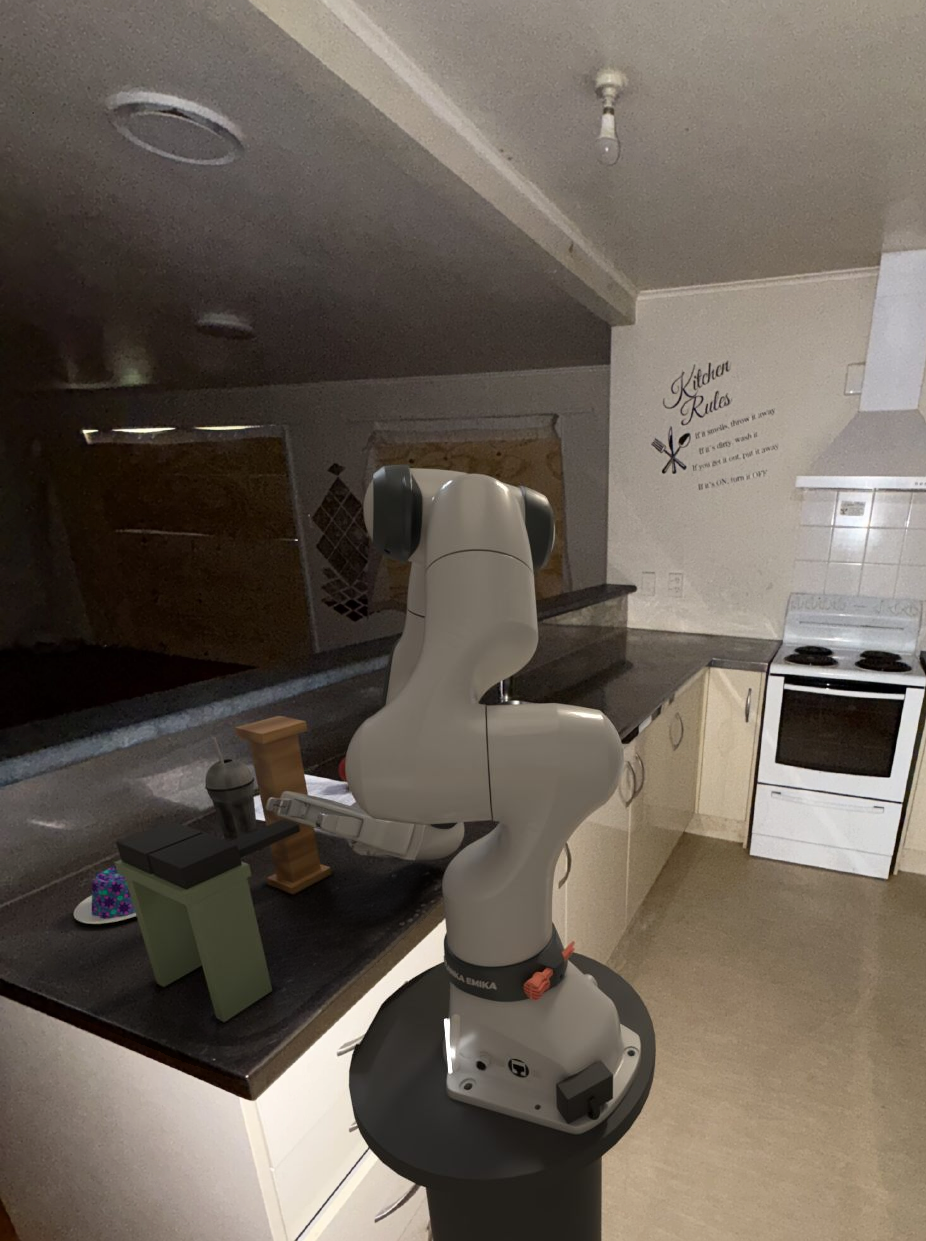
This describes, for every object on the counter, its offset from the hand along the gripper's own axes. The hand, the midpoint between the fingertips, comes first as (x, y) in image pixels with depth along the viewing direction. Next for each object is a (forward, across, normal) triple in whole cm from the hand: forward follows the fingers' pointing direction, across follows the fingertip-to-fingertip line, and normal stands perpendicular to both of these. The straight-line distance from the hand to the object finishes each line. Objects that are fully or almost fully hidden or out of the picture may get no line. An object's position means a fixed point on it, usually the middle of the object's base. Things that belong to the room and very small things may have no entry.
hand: (294, 812), depth 78 cm
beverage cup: (-20, -35, +10) cm, 42 cm away
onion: (-44, -39, -3) cm, 59 cm away
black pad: (+6, 0, +6) cm, 8 cm away
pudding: (-3, -32, +20) cm, 38 cm away
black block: (+10, -6, +8) cm, 14 cm away
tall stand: (-18, -16, +12) cm, 26 cm away
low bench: (+1, -3, +22) cm, 23 cm away
